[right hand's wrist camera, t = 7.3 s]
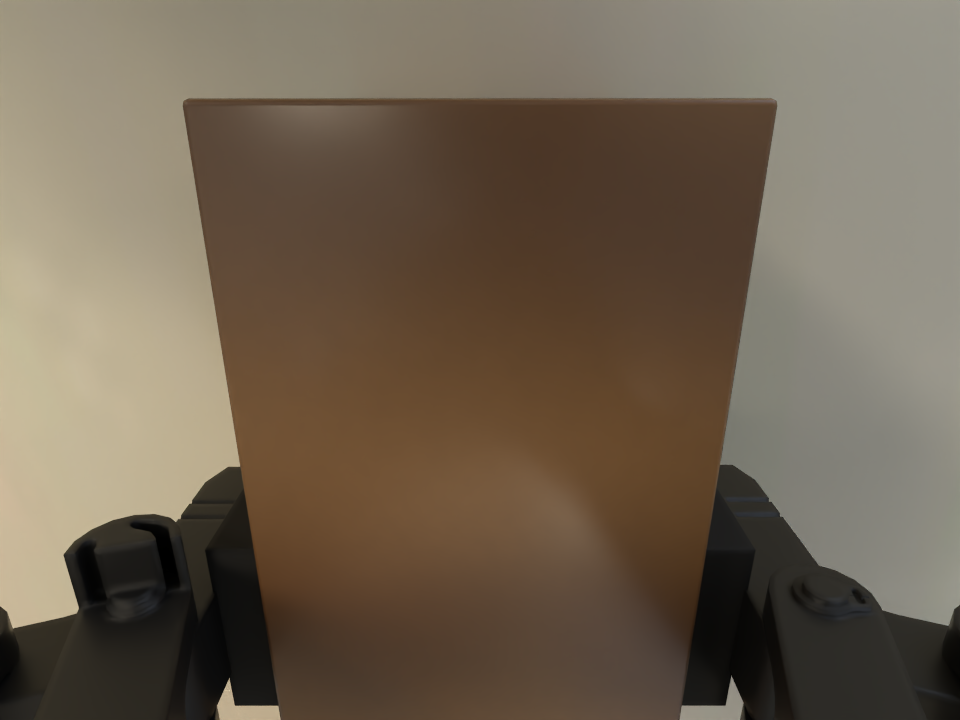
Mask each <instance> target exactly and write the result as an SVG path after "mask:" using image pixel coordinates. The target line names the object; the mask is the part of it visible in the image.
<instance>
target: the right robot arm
mask: <svg viewBox="0 0 960 720" xmlns="http://www.w3.org/2000/svg"><path fill="white" fill-rule="evenodd" d="M64 558H65V562H66V565H67V568H68V572H69V575H70V579H71V582H72V585H73V589H74V592H75V596H76V599H77V602H78V606H79V610H78V612H77V614H74V615H70V616H67V617H63V618H59V619H54V620H50V621H45V622H41V623H36V624H32V625H27V626H23V627H18V628H14V629H13V628H12V625H11V622H10V619H9V616H8V613H7V612H6V611H5V610H4V609H3V608H1V607H0V720H220V719H219V714H218V709H217V704H218V702H219V700H220V698H221V695H222V693H223V691H224V689H225V686H226V684H227V682H228V679H229V677H230V682H231V688H232V693H233V698H234V703H235V706H279V705H278V699H277V692H276V686H275V680H274V674H273V667H272V661H271V655H270V648H269V642H268V636H267V630H266V623H265V617H264V611H263V605H262V598H261V592H260V586H259V580H258V573H257V567H256V561H255V554H254V548H253V542H252V536H251V529H250V523H249V517H248V511H247V504H246V498H245V492H244V486H243V479H242V473H241V467H227V468H226V469H224V470H223V471H222V472H220V473H219V474H217V475H216V476H214V477H213V478H211V479H210V480H208V481H207V482H205V484H204V485H203V486H202V488H201V489H200V491H199V492H198V493H197V495H196V496H195V497H194V499H193V500H192V504H189V505H188V507H187V508H186V509H185V511H184V512H183V514H182V515H181V519H178V520H177V522H175V521H173V520H172V519H171V518H169V517H165V516H160V515H156V514H149V515H133V516H129V517H125V518H121V519H117V520H113V521H110V522H108V523H106V524H103V525H101V526H99V527H97V528H94V529H92V530H90V531H89V532H88V533H86V534H85V535H83V536H82V537H80V538H79V539H77V540H76V541H75V542H74V543H73V544H72V545H71V546H70V548H69V549H68V550H67V551H66V553H65V554H64ZM731 675H732V678H733V680H734V682H735V684H736V687H737V689H738V691H739V693H740V696H741V698H742V700H743V702H744V704H743V709H742V714H741V718H740V720H960V605H959V606H958V607H957V608H956V609H954V612H953V615H952V618H951V621H950V624H949V626H945V625H941V624H936V623H932V622H927V621H923V620H918V619H914V618H909V617H905V616H900V615H896V614H893V613H889V612H886V611H882V609H881V607H880V605H879V604H878V602H877V601H876V600H875V598H874V597H873V595H872V594H871V593H870V592H869V591H868V590H867V589H865V588H864V587H863V586H862V585H860V584H859V583H858V582H856V581H855V580H853V579H851V578H849V577H847V576H845V575H843V574H841V573H839V572H837V571H835V570H832V569H828V568H825V567H821V566H819V565H818V564H817V563H816V561H815V560H814V559H813V557H812V556H811V555H810V553H809V552H808V551H807V549H806V548H805V546H804V545H803V544H802V542H801V541H800V540H799V538H798V537H797V536H796V534H795V533H794V532H793V530H792V529H791V528H790V526H789V525H788V524H787V522H786V521H785V520H784V518H783V517H780V513H779V512H778V510H777V509H776V508H775V506H774V505H773V503H772V502H769V498H768V497H767V495H766V494H765V493H764V491H763V490H762V489H761V487H760V486H759V485H758V483H757V482H756V481H755V480H754V479H753V478H751V477H750V476H748V475H747V474H745V473H744V472H742V471H741V470H739V469H738V468H736V467H735V466H733V465H720V468H719V474H718V480H717V487H716V493H715V499H714V505H713V512H712V518H711V524H710V530H709V537H708V543H707V549H706V556H705V562H704V568H703V574H702V581H701V587H700V593H699V600H698V606H697V612H696V618H695V625H694V631H693V637H692V644H691V650H690V656H689V662H688V669H687V675H686V681H685V687H684V694H683V700H682V705H707V706H725V705H726V700H727V695H728V690H729V685H730V680H731Z"/></svg>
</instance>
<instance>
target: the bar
mask: <svg viewBox="0 0 960 720" xmlns="http://www.w3.org/2000/svg"><path fill="white" fill-rule="evenodd" d="M183 110H184V116H185V122H186V128H187V135H188V141H189V147H190V153H191V160H192V166H193V172H194V179H195V185H196V191H197V197H198V204H199V210H200V216H201V222H202V229H203V235H204V241H205V247H206V254H207V260H208V266H209V273H210V279H211V285H212V291H213V298H214V304H215V310H216V316H217V323H218V329H219V335H220V341H221V348H222V354H223V360H224V367H225V373H226V379H227V385H228V392H229V398H230V404H231V410H232V417H233V423H234V429H235V435H236V442H237V448H238V454H239V460H240V467H241V473H242V479H243V486H244V492H245V498H246V504H247V511H248V517H249V523H250V529H251V536H252V542H253V548H254V554H255V561H256V567H257V573H258V580H259V586H260V592H261V598H262V605H263V611H264V617H265V623H266V630H267V636H268V642H269V648H270V655H271V661H272V667H273V674H274V680H275V686H276V692H277V699H278V705H279V711H280V717H281V720H679V719H680V713H681V706H682V700H683V694H684V687H685V681H686V675H687V669H688V662H689V656H690V650H691V644H692V637H693V631H694V625H695V618H696V612H697V606H698V600H699V593H700V587H701V581H702V574H703V568H704V562H705V556H706V549H707V543H708V537H709V530H710V524H711V518H712V512H713V505H714V499H715V493H716V487H717V480H718V474H719V468H720V461H721V455H722V449H723V443H724V436H725V430H726V424H727V417H728V411H729V405H730V399H731V392H732V386H733V380H734V373H735V367H736V361H737V355H738V348H739V342H740V336H741V330H742V323H743V317H744V311H745V304H746V298H747V292H748V286H749V279H750V273H751V267H752V260H753V254H754V248H755V242H756V235H757V229H758V223H759V216H760V210H761V204H762V198H763V191H764V185H765V179H766V173H767V166H768V160H769V154H770V147H771V141H772V135H773V129H774V122H775V116H776V110H777V102H776V100H773V99H771V98H496V99H187V100H185V101H184V102H183Z"/></svg>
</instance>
